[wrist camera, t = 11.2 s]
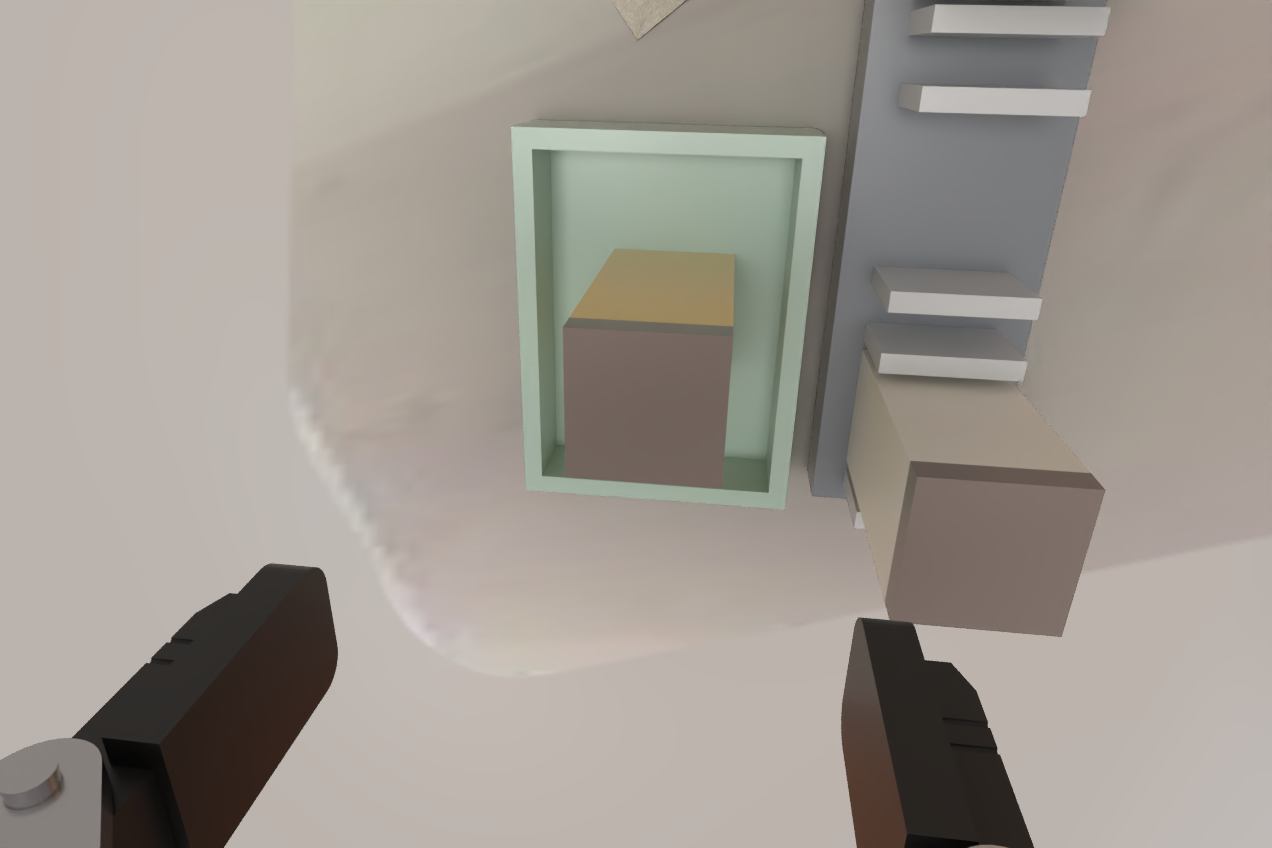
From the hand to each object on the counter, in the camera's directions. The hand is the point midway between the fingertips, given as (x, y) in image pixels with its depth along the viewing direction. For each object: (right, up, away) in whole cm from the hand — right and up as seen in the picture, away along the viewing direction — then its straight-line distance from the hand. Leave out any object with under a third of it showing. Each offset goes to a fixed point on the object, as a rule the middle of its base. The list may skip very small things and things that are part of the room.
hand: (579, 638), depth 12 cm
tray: (+2, +7, +16) cm, 18 cm away
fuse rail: (+10, +11, +13) cm, 20 cm away
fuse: (+2, +7, +15) cm, 17 cm away
